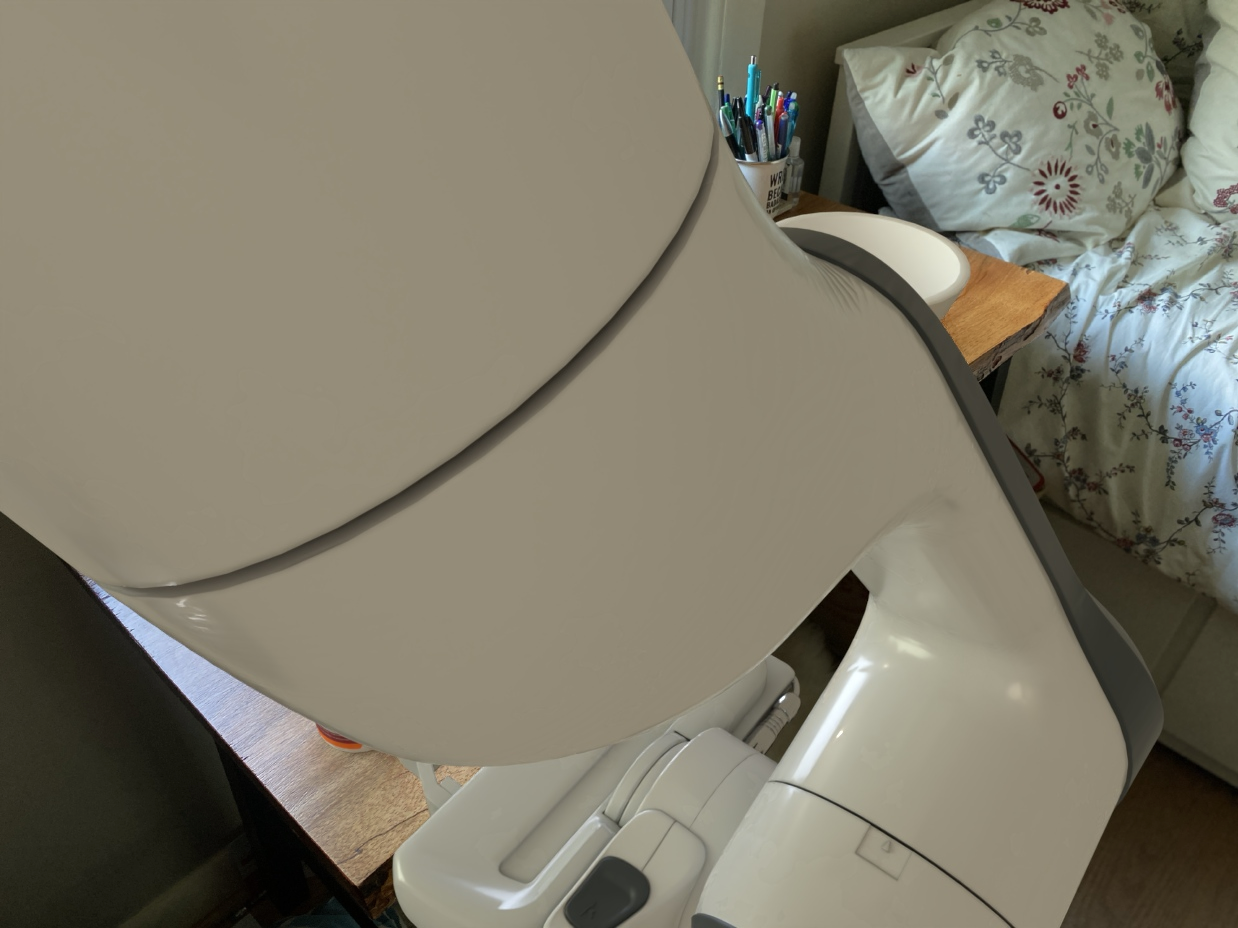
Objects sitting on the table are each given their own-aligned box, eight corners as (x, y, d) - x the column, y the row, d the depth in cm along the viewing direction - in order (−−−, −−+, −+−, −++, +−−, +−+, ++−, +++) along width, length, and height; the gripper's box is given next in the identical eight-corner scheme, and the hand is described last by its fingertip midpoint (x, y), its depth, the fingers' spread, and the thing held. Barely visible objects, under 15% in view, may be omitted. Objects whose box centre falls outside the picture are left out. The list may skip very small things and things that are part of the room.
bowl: (873, 264, 113) (885, 198, 108) (998, 355, 97) (1020, 282, 92) (707, 299, 106) (711, 230, 101) (812, 402, 90) (823, 327, 85)
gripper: (827, 643, 45) (605, 524, 52) (540, 999, 33) (299, 781, 39) (811, 722, 49) (607, 602, 56) (550, 1067, 37) (329, 858, 43)
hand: (477, 678), depth 47 cm, fingers open, 8 cm apart
